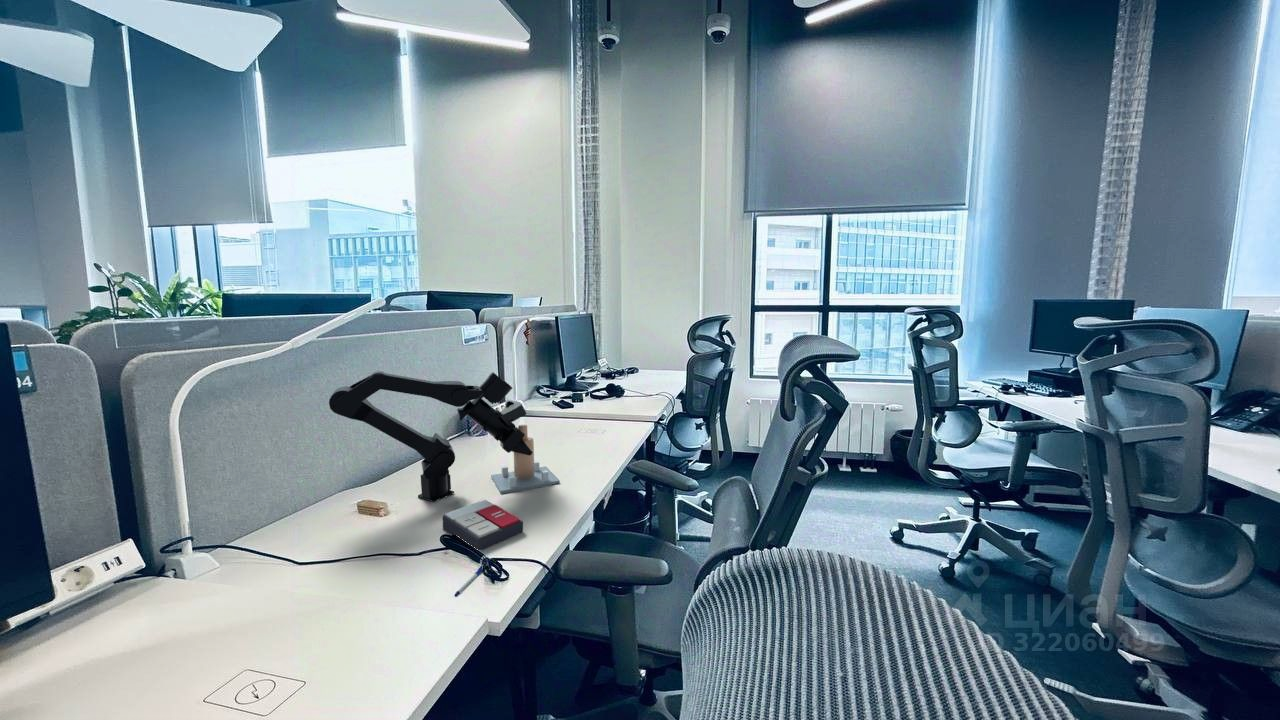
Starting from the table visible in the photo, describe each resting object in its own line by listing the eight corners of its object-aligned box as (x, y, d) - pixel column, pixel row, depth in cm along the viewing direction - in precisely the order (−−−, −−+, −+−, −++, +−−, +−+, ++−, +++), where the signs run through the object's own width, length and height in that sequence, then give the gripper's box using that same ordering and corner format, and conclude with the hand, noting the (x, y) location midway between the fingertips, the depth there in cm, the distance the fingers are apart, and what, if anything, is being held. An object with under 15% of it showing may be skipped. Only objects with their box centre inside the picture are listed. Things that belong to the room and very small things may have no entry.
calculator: (478, 536, 100) (441, 511, 109) (478, 556, 100) (442, 530, 110) (523, 518, 108) (485, 496, 118) (524, 536, 109) (486, 513, 118)
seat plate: (500, 493, 129) (500, 481, 129) (491, 478, 141) (490, 466, 140) (559, 483, 137) (559, 471, 136) (546, 468, 148) (545, 458, 148)
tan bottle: (531, 478, 136) (529, 428, 134) (511, 478, 136) (509, 428, 134) (536, 471, 141) (535, 423, 139) (517, 471, 141) (516, 423, 140)
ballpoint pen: (484, 565, 95) (484, 560, 95) (488, 565, 95) (488, 560, 95) (453, 597, 85) (453, 591, 85) (458, 597, 85) (458, 592, 85)
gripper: (515, 400, 126) (558, 436, 132) (500, 388, 142) (539, 421, 148) (484, 434, 123) (529, 470, 129) (472, 418, 140) (513, 450, 146)
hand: (528, 451), depth 138 cm, fingers closed on tan bottle, 5 cm apart
